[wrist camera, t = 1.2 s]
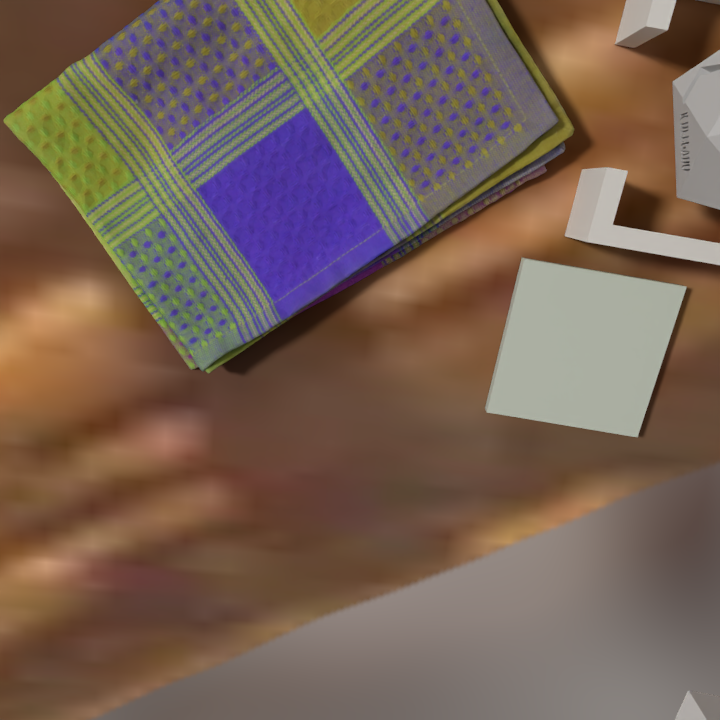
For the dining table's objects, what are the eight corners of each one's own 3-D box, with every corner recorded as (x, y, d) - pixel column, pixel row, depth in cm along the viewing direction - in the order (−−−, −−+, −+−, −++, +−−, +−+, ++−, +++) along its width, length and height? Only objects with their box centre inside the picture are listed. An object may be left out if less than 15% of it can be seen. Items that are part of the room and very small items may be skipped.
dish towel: (11, 109, 32) (-23, 102, 29) (407, -187, 27) (410, -227, 25) (201, 377, 35) (187, 392, 33) (572, 153, 31) (590, 150, 29)
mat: (521, 257, 32) (524, 258, 32) (681, 285, 33) (686, 286, 32) (484, 408, 35) (486, 412, 34) (633, 433, 35) (637, 437, 35)
